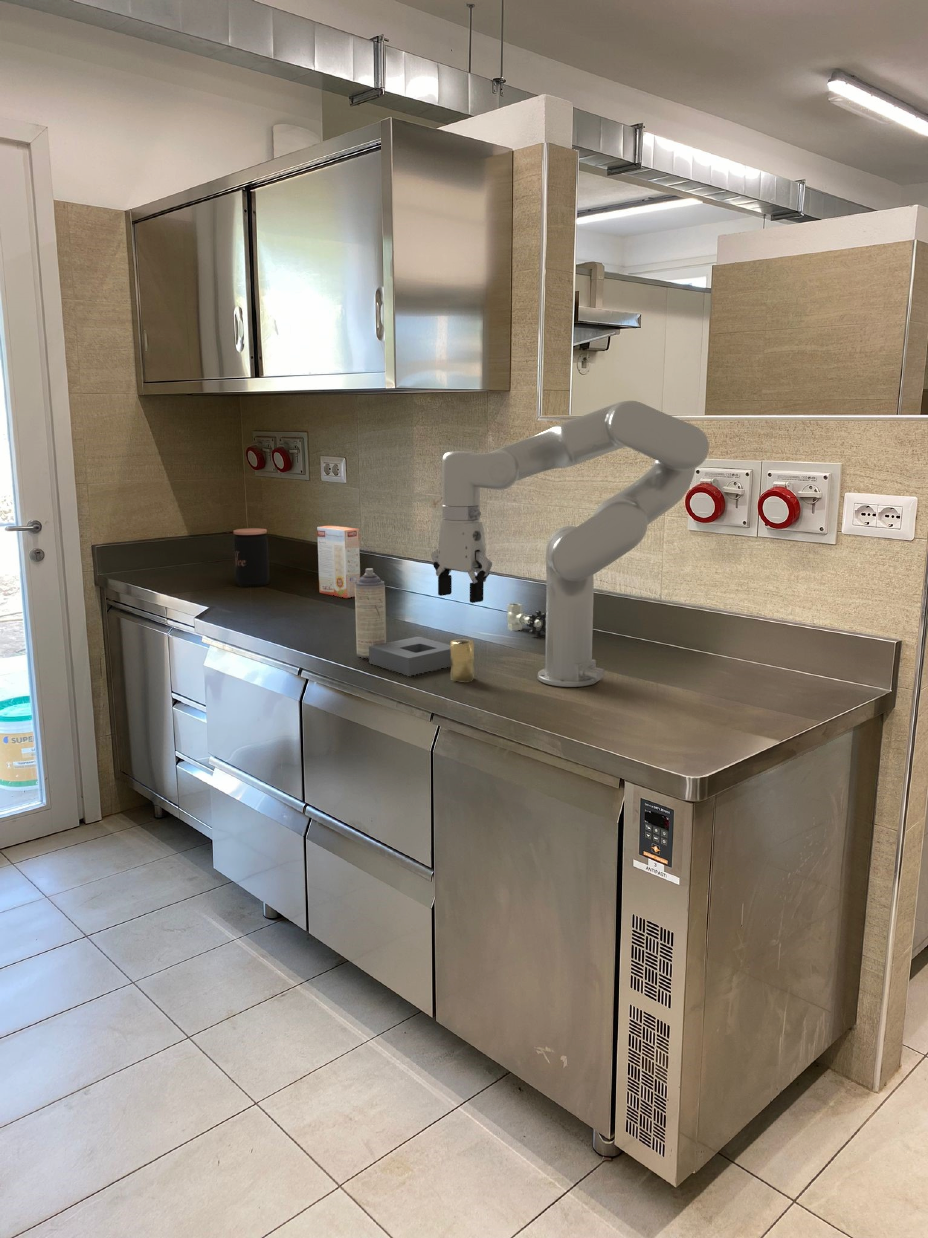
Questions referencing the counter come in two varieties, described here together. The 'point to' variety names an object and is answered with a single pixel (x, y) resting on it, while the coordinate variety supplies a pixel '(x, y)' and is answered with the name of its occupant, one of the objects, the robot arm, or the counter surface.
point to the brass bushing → (462, 660)
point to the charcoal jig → (411, 655)
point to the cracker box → (338, 560)
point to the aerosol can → (369, 612)
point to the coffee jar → (251, 557)
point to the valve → (524, 619)
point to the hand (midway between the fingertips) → (460, 598)
